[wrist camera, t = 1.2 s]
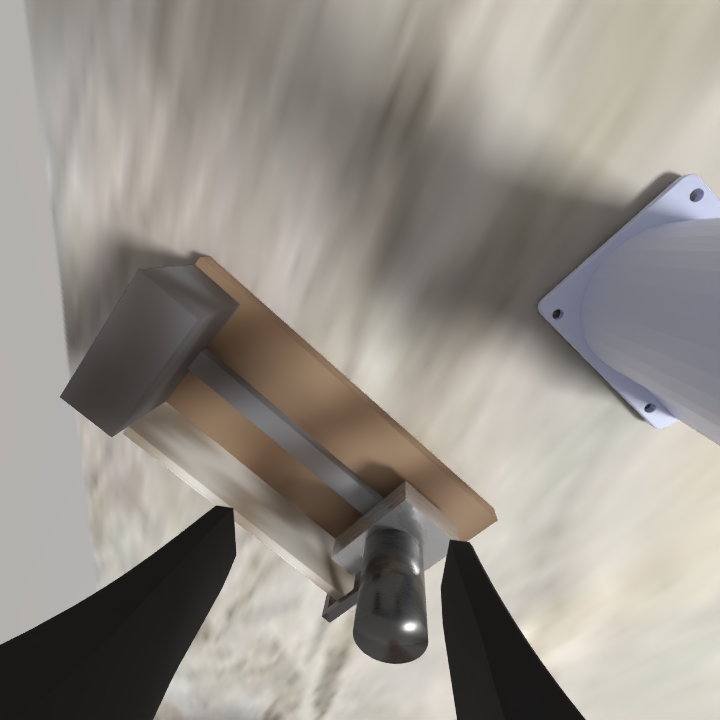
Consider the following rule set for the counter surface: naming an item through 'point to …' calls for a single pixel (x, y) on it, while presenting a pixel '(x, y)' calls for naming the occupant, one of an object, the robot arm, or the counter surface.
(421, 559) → the gauge slider
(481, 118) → the counter surface
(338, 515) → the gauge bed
